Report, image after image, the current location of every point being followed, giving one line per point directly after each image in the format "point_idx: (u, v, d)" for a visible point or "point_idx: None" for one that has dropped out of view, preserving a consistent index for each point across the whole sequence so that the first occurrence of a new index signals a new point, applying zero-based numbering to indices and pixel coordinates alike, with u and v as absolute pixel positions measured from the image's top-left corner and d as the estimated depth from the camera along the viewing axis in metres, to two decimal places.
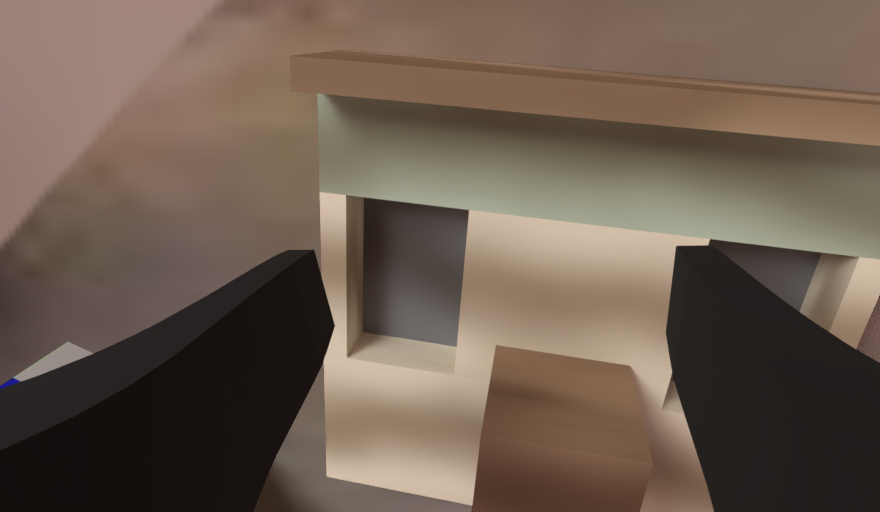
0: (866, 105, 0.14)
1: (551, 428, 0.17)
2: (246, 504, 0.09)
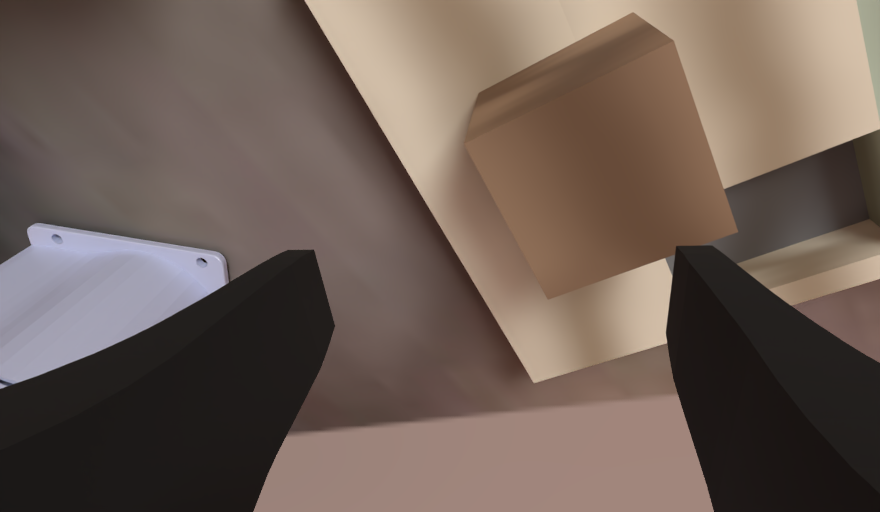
0: None
1: None
2: (246, 504, 0.09)
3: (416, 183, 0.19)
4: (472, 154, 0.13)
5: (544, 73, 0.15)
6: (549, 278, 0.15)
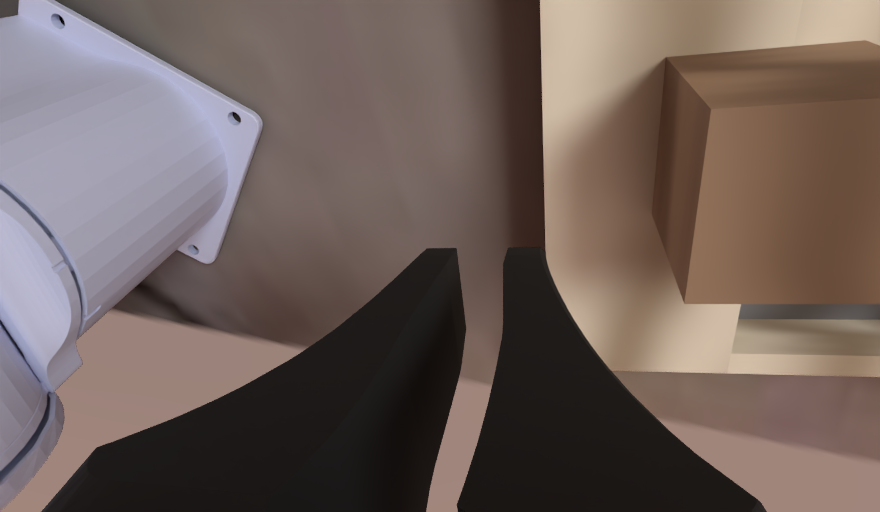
0: None
1: None
2: None
3: (544, 126, 0.17)
4: (712, 124, 0.11)
5: (776, 66, 0.13)
6: (700, 283, 0.13)
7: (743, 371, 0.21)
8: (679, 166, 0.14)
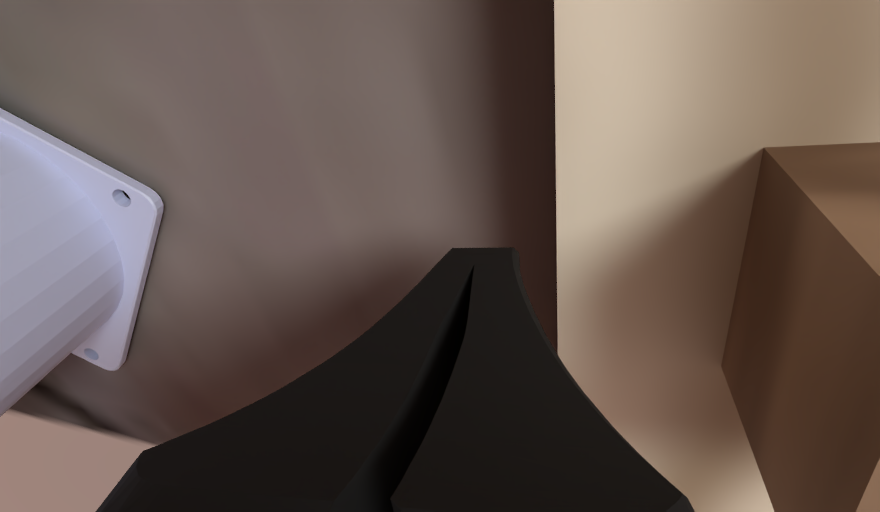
0: None
1: None
2: None
3: (559, 241, 0.11)
4: None
5: None
6: None
7: None
8: (802, 359, 0.08)
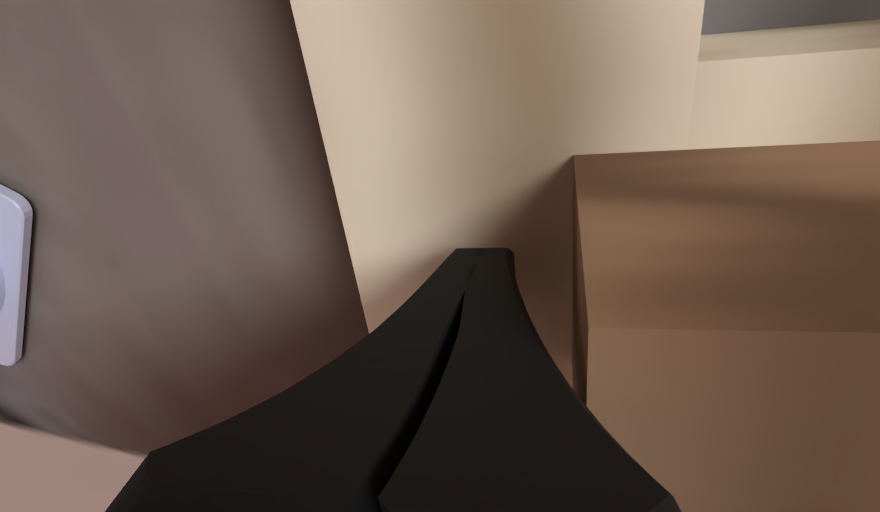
0: None
1: None
2: None
3: (350, 244, 0.12)
4: (594, 352, 0.06)
5: (734, 198, 0.08)
6: None
7: None
8: (577, 351, 0.09)
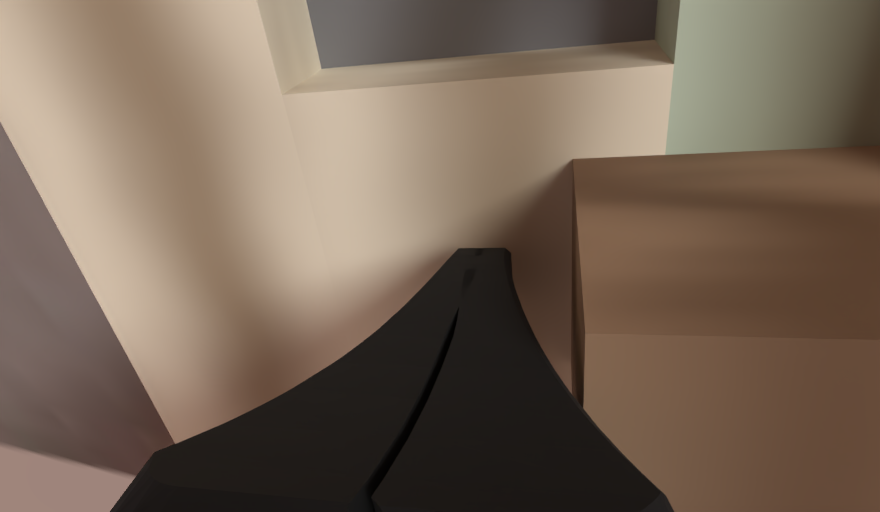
0: None
1: None
2: None
3: (71, 247, 0.13)
4: (591, 357, 0.06)
5: (732, 203, 0.08)
6: None
7: None
8: (576, 354, 0.09)
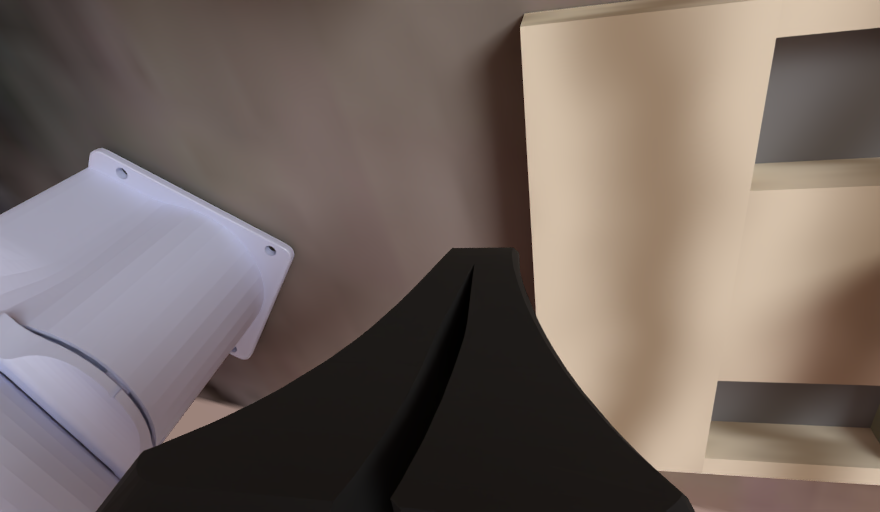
0: None
1: None
2: None
3: (536, 281, 0.20)
4: None
5: None
6: None
7: (716, 472, 0.23)
8: None
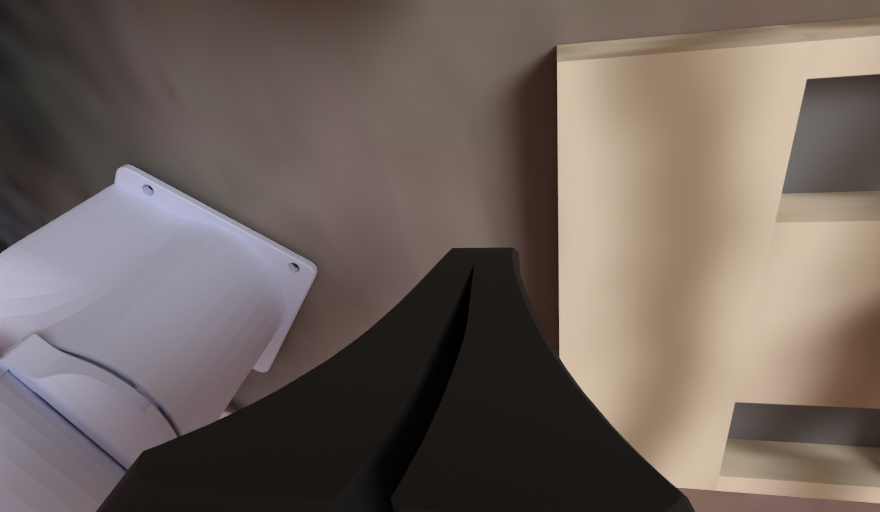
0: None
1: None
2: None
3: (560, 304, 0.20)
4: None
5: None
6: None
7: (729, 489, 0.24)
8: None
